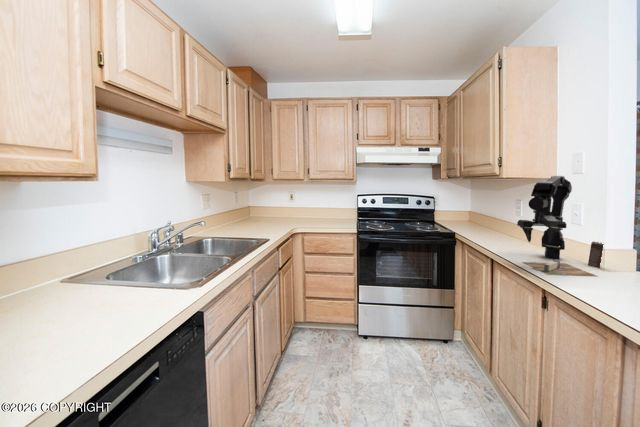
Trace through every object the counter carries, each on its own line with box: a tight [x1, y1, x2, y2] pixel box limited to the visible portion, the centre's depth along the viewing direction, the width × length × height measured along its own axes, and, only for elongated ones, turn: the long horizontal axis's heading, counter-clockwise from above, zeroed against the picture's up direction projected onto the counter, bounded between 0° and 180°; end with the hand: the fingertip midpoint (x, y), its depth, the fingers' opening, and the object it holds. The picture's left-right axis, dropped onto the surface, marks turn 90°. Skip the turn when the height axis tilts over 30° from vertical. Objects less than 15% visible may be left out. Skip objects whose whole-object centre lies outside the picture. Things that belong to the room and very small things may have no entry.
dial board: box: [521, 261, 599, 278], centre depth 139 cm, size 20×21×1 cm
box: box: [587, 241, 605, 269], centre depth 145 cm, size 6×4×12 cm
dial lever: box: [544, 259, 561, 271], centre depth 137 cm, size 13×3×3 cm, turn 124°
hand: (539, 242), depth 144 cm, fingers open, 9 cm apart
